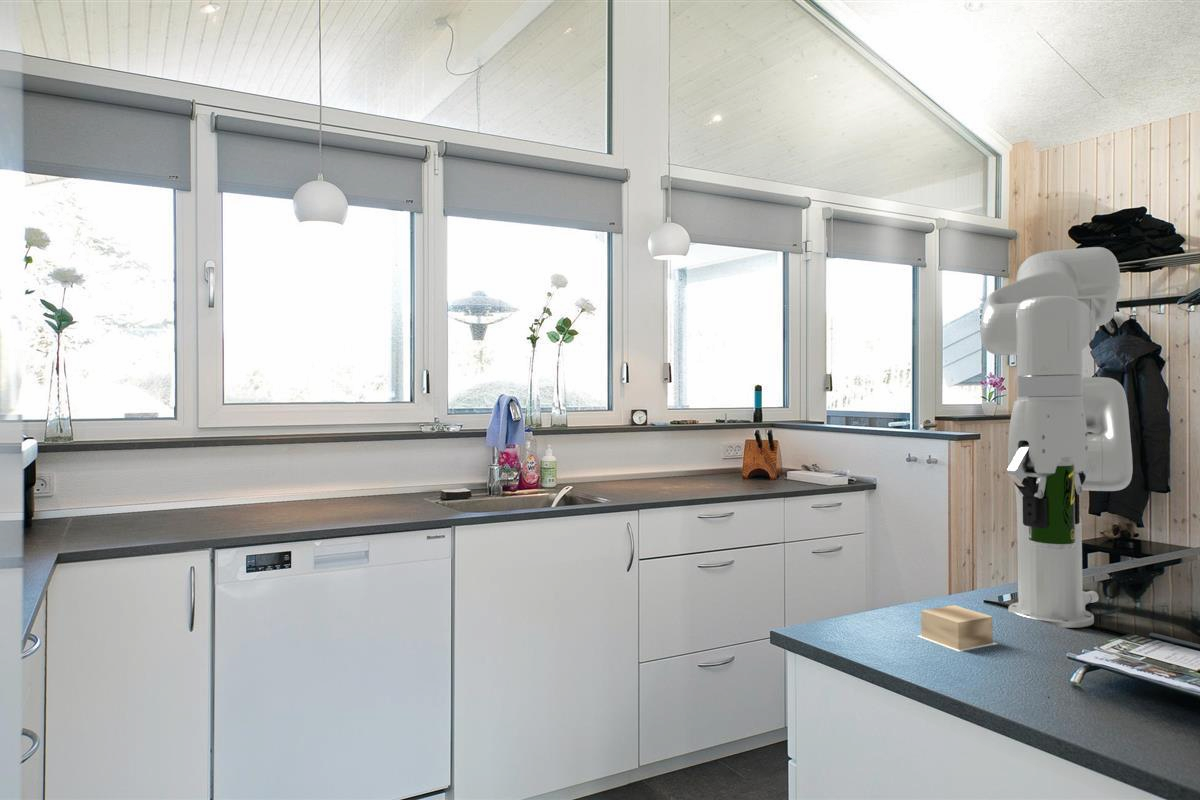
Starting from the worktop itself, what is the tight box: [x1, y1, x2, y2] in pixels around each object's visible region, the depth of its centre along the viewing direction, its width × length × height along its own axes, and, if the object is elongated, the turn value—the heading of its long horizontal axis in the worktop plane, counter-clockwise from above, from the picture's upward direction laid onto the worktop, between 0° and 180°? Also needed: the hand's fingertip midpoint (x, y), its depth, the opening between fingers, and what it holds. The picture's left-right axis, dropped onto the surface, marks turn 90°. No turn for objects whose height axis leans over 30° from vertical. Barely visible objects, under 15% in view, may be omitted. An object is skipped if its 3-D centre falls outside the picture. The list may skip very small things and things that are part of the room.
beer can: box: [1029, 457, 1075, 550], centre depth 102 cm, size 5×5×12 cm
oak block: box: [920, 604, 994, 650], centre depth 117 cm, size 7×7×4 cm
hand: (1051, 523), depth 102 cm, fingers closed on beer can, 5 cm apart
